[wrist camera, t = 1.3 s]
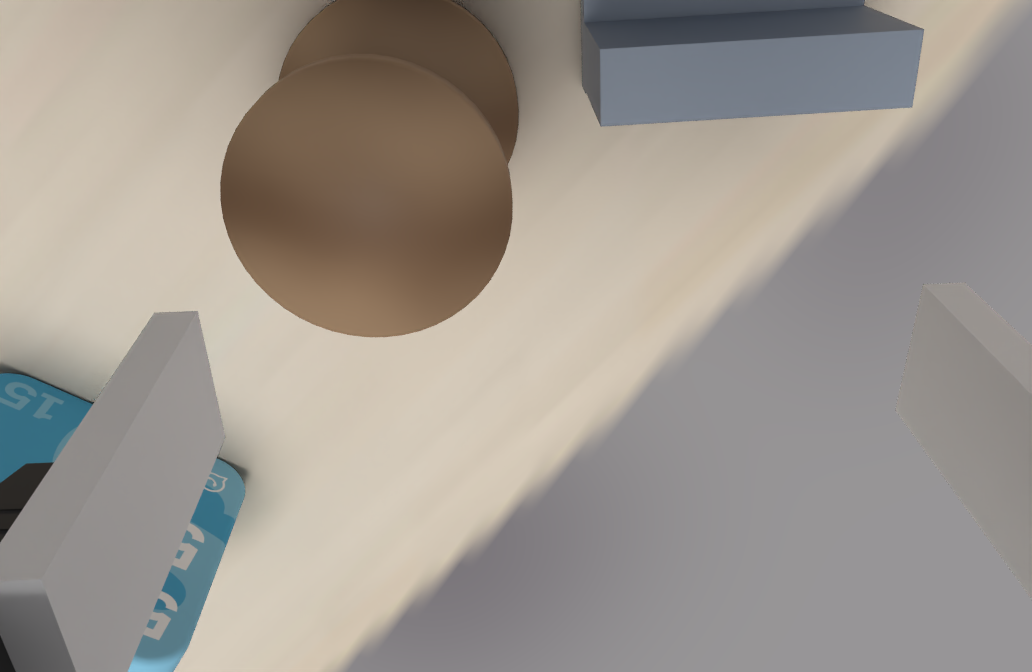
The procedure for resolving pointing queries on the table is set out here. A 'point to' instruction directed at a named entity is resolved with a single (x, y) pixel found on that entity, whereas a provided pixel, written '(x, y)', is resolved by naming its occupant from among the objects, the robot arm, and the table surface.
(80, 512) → the robot arm
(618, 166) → the table surface
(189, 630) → the data package
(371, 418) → the table surface
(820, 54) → the notch board
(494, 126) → the door knob
